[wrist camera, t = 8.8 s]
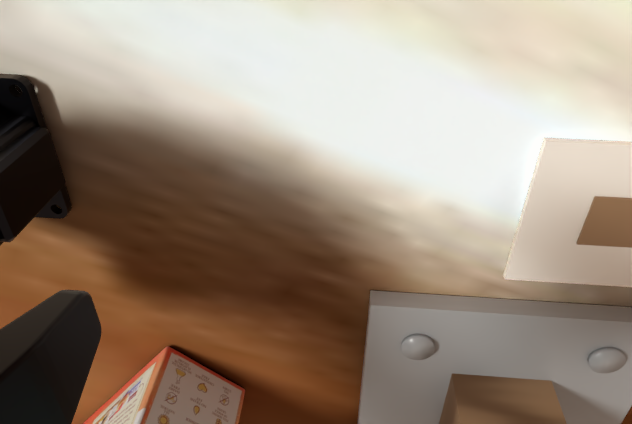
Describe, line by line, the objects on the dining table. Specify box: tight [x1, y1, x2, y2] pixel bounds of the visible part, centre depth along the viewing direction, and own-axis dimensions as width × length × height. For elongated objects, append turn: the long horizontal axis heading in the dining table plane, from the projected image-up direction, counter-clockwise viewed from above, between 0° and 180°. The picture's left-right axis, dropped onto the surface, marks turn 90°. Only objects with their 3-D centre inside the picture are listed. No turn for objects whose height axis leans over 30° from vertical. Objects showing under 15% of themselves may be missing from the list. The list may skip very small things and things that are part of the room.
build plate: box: [357, 290, 632, 424], centre depth 28 cm, size 14×14×1 cm
